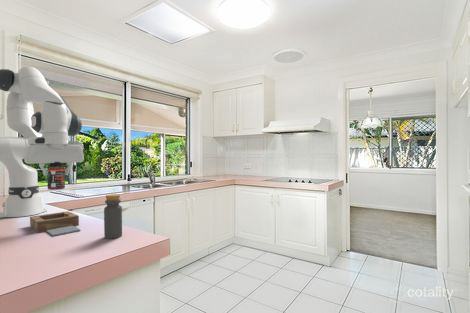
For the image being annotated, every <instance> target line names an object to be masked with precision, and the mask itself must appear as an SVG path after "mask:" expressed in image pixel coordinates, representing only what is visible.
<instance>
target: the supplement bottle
mask: <svg viewBox="0 0 470 313" xmlns="http://www.w3.org/2000/svg"><path fill="white" fill-rule="evenodd" d="M49 164H50V165H49V167H48V168H47V169H46V170H48V175H46V176H47V179H46V180H47V190H50V191H52V190H53V191H55V190H58V191H59V190H64V189H65V188H66V174H65V169H66V168H65V167H64V166H63V163H60V162H54V163H49Z"/></svg>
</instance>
